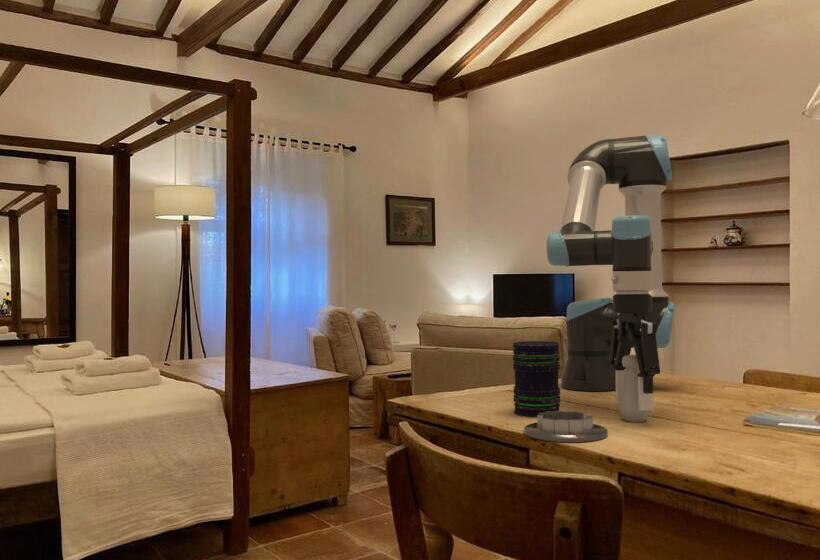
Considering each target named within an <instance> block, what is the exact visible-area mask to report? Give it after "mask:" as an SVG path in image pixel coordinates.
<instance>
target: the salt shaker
mask: <svg viewBox="0 0 820 560" xmlns="http://www.w3.org/2000/svg"><path fill="white" fill-rule="evenodd" d="M622 365H623V367H625V368H626V369H625V370H626V371H625V376H624V382H623V387H622V393H621V398H620V402H619V405H618V410H619V412H620V414H621V415H622V418H623V420H624V421H626V422H629V423H642V422H646V420H647V417H648V415H649V413H650V410H641V411H640V410H639V405H638V376H637V375H638V374H639V373H640V370H639V366H638V362H637V358H636V354H630V355H626V356H624V357H623V358H622Z"/></svg>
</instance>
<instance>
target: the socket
mask: <svg viewBox="0 0 820 560" xmlns="http://www.w3.org/2000/svg"><path fill="white" fill-rule="evenodd" d="M559 410H560V411H547V412H542V413H539V414H538V415H537V418H536V419H537V422H533V423H530V424H526V425H525V426H524V428H523V433H524V435H525V436H526V437H528V438H531V439H533V440H534V439H535V440H538V441H544V442H551V443H560V444H561V443H562V444H565V443H566V444H567V443H568V444H577V443H578V444H580V443H592V442H597V441H601V440H604V439H606V438H608V428H606V427H604V426H602V425H598V424H595V423H594V415H590V414H589V415H587V412H584V411H577V410H561V409H559Z"/></svg>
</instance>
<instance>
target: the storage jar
mask: <svg viewBox="0 0 820 560" xmlns="http://www.w3.org/2000/svg"><path fill="white" fill-rule="evenodd" d="M559 347H560V343H559V342H556V341H540V340H539V341H533V340H532V341H530V340H529V341H516V342H513V343H512V348H513V350H512V351H513V352H512V361H513V362H512V363H513V365H512V366H513V370H514V387H513V402H514V404H513V405H514V406H513V407H514V410H513V412H514V415H516V414H517V415H516V416H519V415H520V416H519V417H523V416H525V417H524V418H533V417H537V415H538V414H539V413H542V412H547V411H560V410H561V409H560V407H561V404H560V403H561V388H560V387H559V370H560V362H561V361H560V360H561V357H560V350H559Z"/></svg>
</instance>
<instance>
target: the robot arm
mask: <svg viewBox="0 0 820 560" xmlns="http://www.w3.org/2000/svg"><path fill="white" fill-rule="evenodd" d="M672 180H673V173H672V168H671V161H670V155H669V148H668V142H667V139H666V138H665V137H664V136H663V135H658V134H657V135H647V134H645V135H639V136H630V137H629V136H627V137H621V138H620V137H618V138H606V139H605V138H604V139H601V140H598V141H596V142H594V143H592V144H590V145H588V146H586V147H585V148H584V149H583V150H581V152H580V153H578V154H577V156H576V157H575V158H574V159H573V160H572V163H571V164H570V166H569V169H568V172H567V183H568V185H569V187H568V192H567V197H566V201H565V205H564V206H565V207H564V210H563V215H562V220H561V225H560V230H559V231H556V232H551V233H550V234H548V236H547V239H546V256H547V260H548V263H549V264H550V265H551V266H553V267H555V266H557V267H558V266H559V267H567V268H568V267H577V266H578V267H579V266H580V267H582V266H586V267H587V266H612V270H611V271H612V276H611V278H610V280H611V282H612V291H613V292H615V294H613V295H612V297H611V296H610V297H603V298H595V299H587V300H579V301H573V302H571V303H569V304H568V306H567V309H566V320H565V322H566V346H567V347H566V350H567V351H566V353H567V354H566V355H567V356H566V357H567V358H566V361H565V364H564V368H563V370H562V374H561V378H560V386H561V388H563V389H566V390H572V391H579V392H580V391H581V392H608V391H615V402H616V403H620V398H621V393H622V387H623V382H624V376H625V371H626V368H625V367H623V365H622V358H623V357H624V356H626V355H631V351H632V349H634V353H635V354H634V355H636V358H637V362H638V366H639V370H640V373H639V374H638V375H637V376H638V405H639V410H640V411H641V410H649V411H654V377H655V376H656V375H660V374H661V367H660V360H659V351H658V349H665V348H666V347H668V346H669V345H670V343H671V335H672V329H673V328H672V327H673V320H674V312H675V303H674V302H673V301H669V294H668V293H667V292H666V291H664V289H663V284H662V282H663V278H662V276H663V274H662V273H663V272H662V270H663V269H662V268H663V267H662V223H661V222H662V221H661V219H662V218H661V195H662V193H663V192H664V191H665V190H666V189H667V182H670V181H672ZM605 185H618V192H620V193H621V194H622V195H623V196H624V208H625V209H624V214H625V215H623V216H621V215H620V216H616V217H613V219H612V221H611V230H596V223H597V222H596V221H597V215H598V208H599V202H600V195H601V190H602V189H603V188H604V186H605Z"/></svg>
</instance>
